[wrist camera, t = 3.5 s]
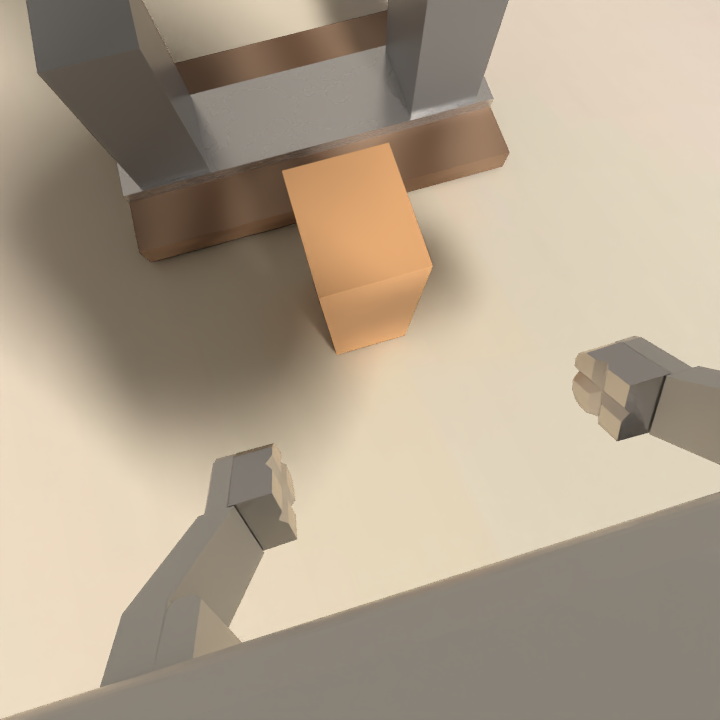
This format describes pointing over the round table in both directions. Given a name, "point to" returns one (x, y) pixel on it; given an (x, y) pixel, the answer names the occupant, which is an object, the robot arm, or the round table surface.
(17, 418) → the round table surface
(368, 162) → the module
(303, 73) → the light grey flat plate
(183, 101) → the mounted modules
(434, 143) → the board
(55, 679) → the round table surface
